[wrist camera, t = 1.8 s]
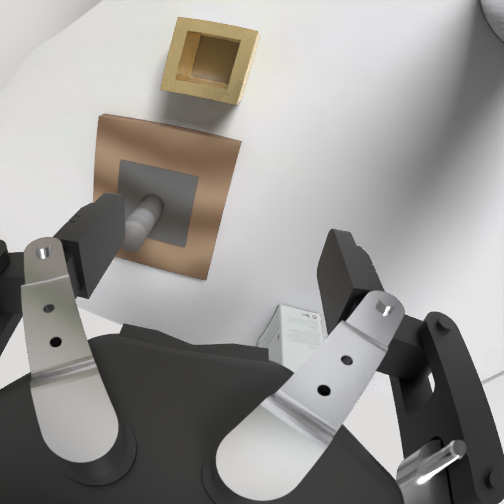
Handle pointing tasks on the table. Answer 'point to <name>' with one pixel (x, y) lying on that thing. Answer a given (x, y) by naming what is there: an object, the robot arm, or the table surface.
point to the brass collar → (185, 53)
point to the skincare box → (292, 336)
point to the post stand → (165, 189)
